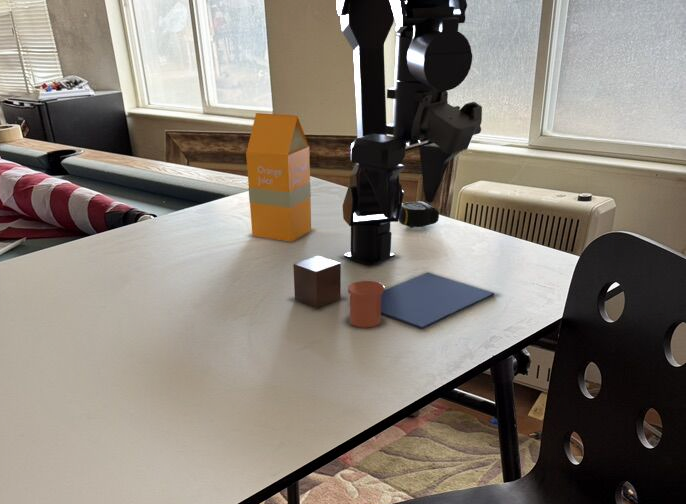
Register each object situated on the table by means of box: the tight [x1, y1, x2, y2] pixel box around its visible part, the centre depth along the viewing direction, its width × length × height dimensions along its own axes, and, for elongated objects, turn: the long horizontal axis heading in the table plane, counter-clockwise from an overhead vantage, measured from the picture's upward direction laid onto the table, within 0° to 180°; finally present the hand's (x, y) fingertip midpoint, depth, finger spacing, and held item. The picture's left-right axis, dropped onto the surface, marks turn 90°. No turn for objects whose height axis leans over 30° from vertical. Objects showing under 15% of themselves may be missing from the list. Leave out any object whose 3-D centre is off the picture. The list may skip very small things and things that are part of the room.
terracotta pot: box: [347, 280, 385, 329], centre depth 97 cm, size 5×5×5 cm
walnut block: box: [292, 255, 342, 309], centre depth 104 cm, size 5×5×6 cm
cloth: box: [381, 272, 495, 330], centre depth 104 cm, size 13×17×1 cm
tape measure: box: [398, 200, 440, 229], centre depth 132 cm, size 7×7×4 cm
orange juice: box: [245, 112, 312, 243], centre depth 126 cm, size 8×9×20 cm
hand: (409, 209), depth 97 cm, fingers open, 9 cm apart
